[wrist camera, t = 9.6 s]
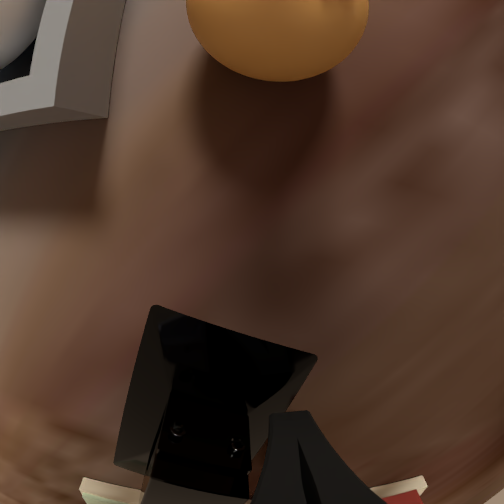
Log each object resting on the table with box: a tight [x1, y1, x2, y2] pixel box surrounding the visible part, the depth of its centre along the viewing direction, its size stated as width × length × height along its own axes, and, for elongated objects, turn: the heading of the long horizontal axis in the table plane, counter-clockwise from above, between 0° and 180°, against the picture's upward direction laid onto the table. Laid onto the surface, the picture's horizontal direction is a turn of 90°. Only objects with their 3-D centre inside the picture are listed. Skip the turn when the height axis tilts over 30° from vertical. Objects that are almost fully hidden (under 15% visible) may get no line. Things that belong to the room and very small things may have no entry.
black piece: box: [113, 305, 317, 504], centre depth 10 cm, size 12×7×5 cm, turn 158°
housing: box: [0, 0, 126, 131], centre depth 5 cm, size 7×7×3 cm
